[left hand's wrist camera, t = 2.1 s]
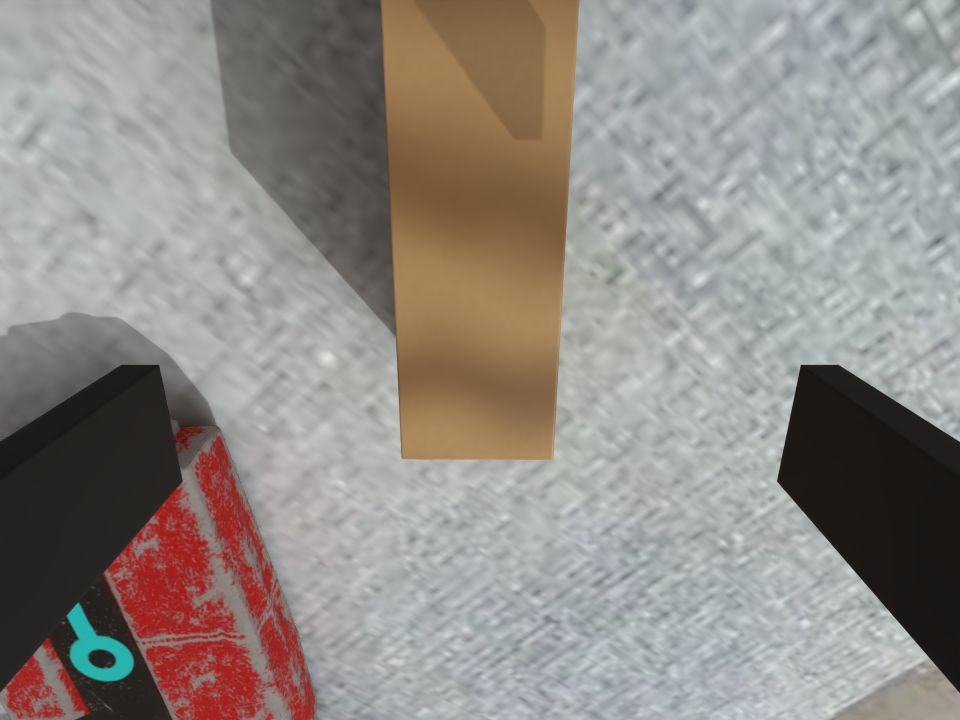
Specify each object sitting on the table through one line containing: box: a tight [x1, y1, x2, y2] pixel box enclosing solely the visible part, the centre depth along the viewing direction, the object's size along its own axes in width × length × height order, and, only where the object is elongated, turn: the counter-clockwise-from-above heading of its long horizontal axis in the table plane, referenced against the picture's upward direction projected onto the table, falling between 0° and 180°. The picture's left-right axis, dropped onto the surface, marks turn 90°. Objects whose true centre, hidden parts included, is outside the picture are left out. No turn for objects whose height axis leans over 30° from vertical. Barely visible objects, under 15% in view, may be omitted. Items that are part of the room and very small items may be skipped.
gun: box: [0, 419, 317, 720], centre depth 31 cm, size 4×31×19 cm
